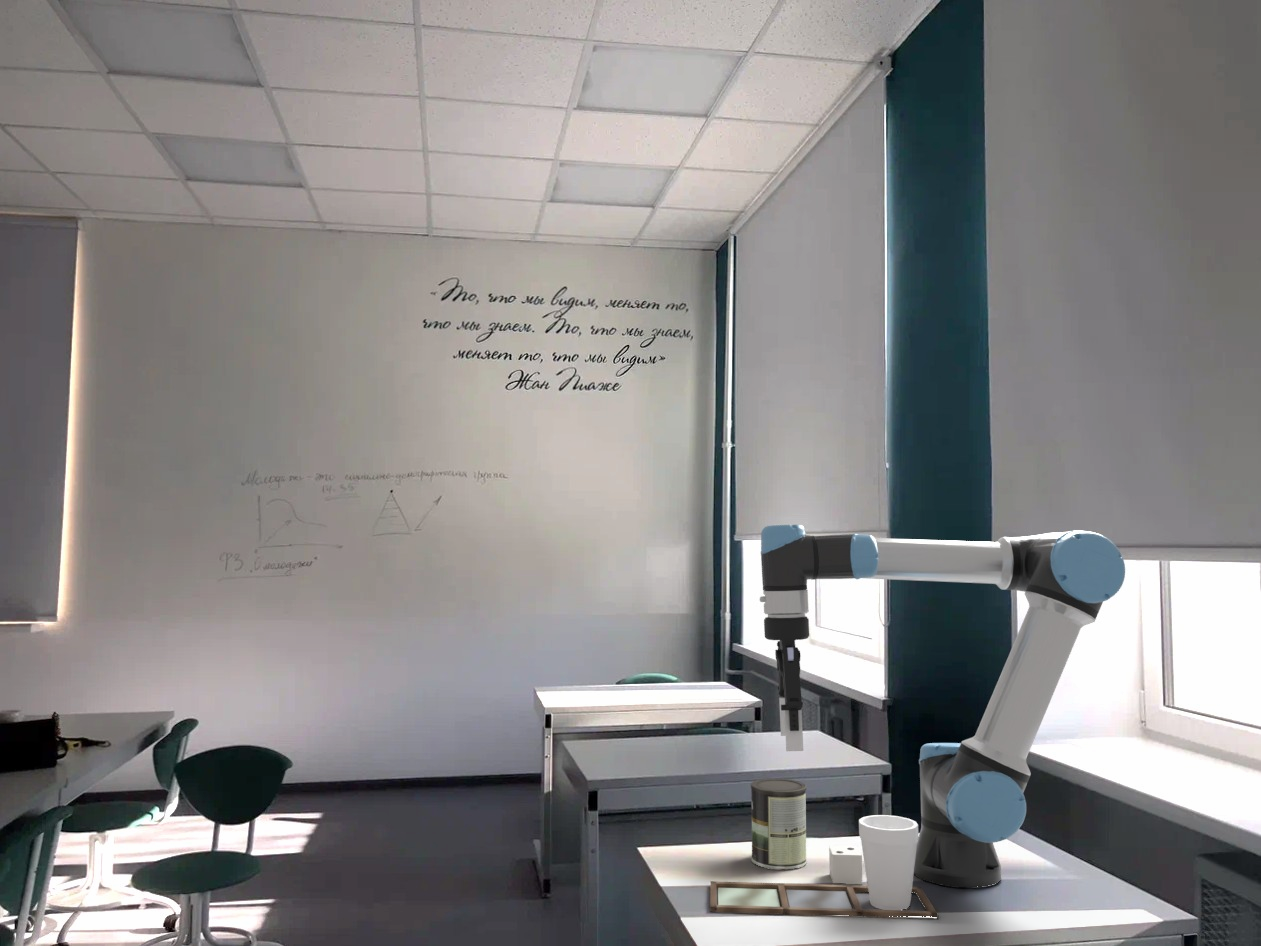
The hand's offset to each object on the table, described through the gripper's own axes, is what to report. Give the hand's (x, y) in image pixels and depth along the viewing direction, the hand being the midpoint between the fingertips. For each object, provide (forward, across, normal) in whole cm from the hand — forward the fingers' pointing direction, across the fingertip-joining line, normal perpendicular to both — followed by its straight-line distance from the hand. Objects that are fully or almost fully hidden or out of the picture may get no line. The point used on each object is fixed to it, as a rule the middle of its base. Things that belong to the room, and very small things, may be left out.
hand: (791, 743), depth 166 cm
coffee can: (+26, -20, -2) cm, 32 cm away
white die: (+26, -11, +9) cm, 29 cm away
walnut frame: (+25, +1, +3) cm, 26 cm away
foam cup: (+26, +1, +15) cm, 30 cm away
